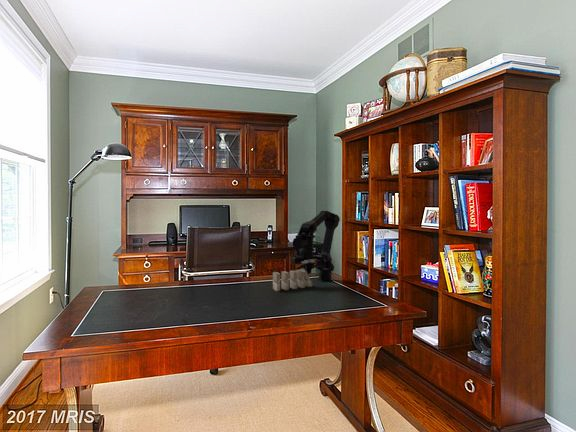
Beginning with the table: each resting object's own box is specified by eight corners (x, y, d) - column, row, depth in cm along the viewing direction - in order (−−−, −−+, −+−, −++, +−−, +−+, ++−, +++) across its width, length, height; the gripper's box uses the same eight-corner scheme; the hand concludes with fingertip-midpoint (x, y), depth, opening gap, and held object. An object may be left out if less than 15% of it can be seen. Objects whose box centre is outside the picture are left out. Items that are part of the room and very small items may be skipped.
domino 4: (301, 285, 211) (299, 269, 210) (305, 287, 206) (303, 271, 205) (297, 286, 210) (295, 270, 209) (302, 288, 206) (299, 271, 204)
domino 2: (284, 287, 206) (284, 271, 206) (288, 289, 202) (288, 272, 202) (281, 288, 205) (281, 271, 205) (285, 290, 201) (285, 273, 201)
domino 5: (308, 283, 213) (302, 269, 211) (313, 285, 209) (306, 271, 206) (305, 285, 212) (299, 271, 210) (310, 287, 208) (303, 273, 206)
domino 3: (293, 286, 209) (293, 270, 208) (297, 288, 204) (297, 272, 204) (289, 287, 208) (289, 270, 207) (293, 289, 203) (293, 272, 203)
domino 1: (276, 288, 204) (276, 271, 204) (280, 290, 200) (280, 273, 199) (272, 289, 203) (272, 272, 203) (276, 291, 199) (276, 274, 198)
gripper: (315, 243, 220) (314, 271, 221) (285, 245, 212) (285, 273, 212) (325, 246, 210) (325, 274, 211) (295, 248, 202) (294, 277, 202)
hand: (307, 275), depth 209 cm, fingers closed
